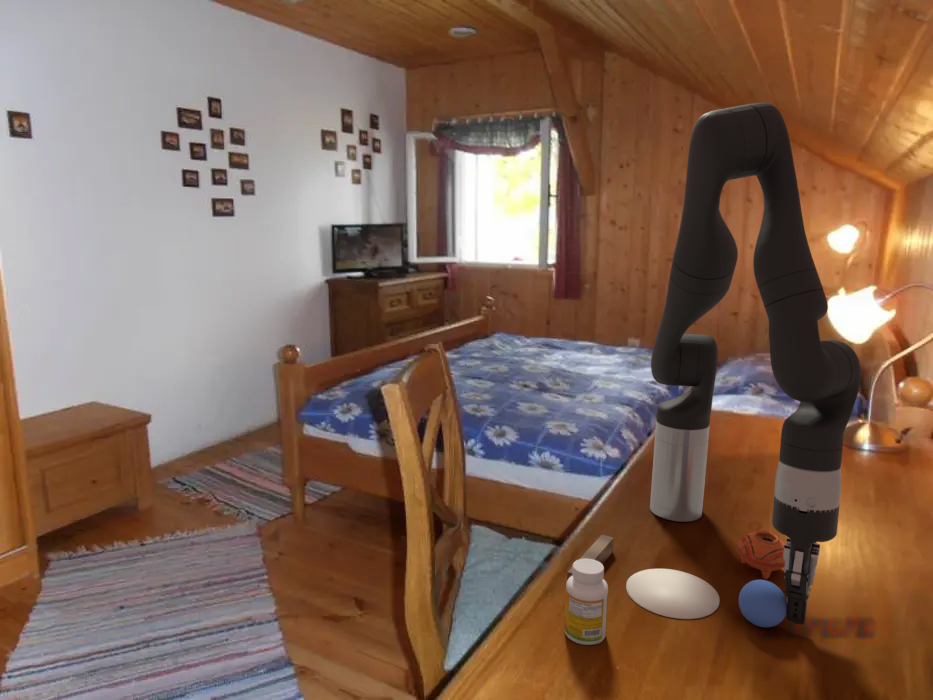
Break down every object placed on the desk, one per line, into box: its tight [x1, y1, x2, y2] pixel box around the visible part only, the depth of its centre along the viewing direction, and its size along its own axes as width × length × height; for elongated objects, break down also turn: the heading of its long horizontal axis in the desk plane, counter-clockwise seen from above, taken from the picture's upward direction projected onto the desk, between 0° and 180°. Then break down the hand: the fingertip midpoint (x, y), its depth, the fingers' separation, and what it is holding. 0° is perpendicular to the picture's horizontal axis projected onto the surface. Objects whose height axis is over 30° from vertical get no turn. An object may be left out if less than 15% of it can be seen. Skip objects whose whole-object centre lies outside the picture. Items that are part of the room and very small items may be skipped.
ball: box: [738, 579, 788, 628], centre depth 91 cm, size 6×6×6 cm
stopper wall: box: [566, 534, 615, 581], centre depth 105 cm, size 14×2×2 cm, turn 148°
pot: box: [736, 529, 786, 580], centre depth 105 cm, size 8×8×7 cm
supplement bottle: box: [563, 558, 609, 646], centre depth 88 cm, size 5×5×10 cm
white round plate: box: [625, 568, 721, 620], centre depth 99 cm, size 13×13×1 cm
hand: (795, 620), depth 90 cm, fingers closed
